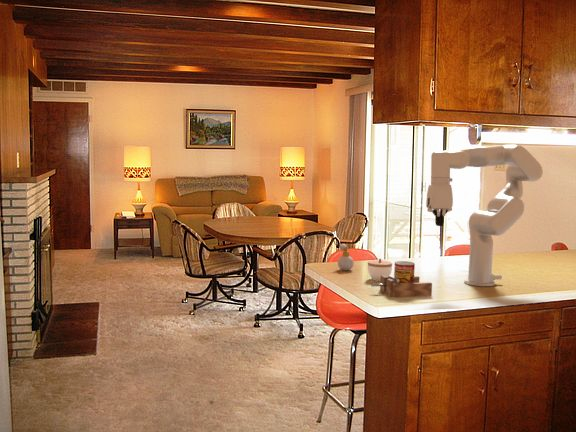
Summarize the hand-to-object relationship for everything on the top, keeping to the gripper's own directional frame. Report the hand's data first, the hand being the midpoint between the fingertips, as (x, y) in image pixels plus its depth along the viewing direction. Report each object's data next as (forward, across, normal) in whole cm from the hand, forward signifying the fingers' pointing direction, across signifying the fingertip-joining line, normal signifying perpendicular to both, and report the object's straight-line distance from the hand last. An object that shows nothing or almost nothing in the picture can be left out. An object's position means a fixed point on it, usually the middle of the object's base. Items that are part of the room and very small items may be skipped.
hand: (439, 225), depth 255 cm
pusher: (+25, +28, +6) cm, 38 cm away
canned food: (+26, +19, +6) cm, 33 cm away
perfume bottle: (+26, +26, -43) cm, 57 cm away
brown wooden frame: (+26, +18, +6) cm, 32 cm away
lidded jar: (+26, +19, -18) cm, 37 cm away
